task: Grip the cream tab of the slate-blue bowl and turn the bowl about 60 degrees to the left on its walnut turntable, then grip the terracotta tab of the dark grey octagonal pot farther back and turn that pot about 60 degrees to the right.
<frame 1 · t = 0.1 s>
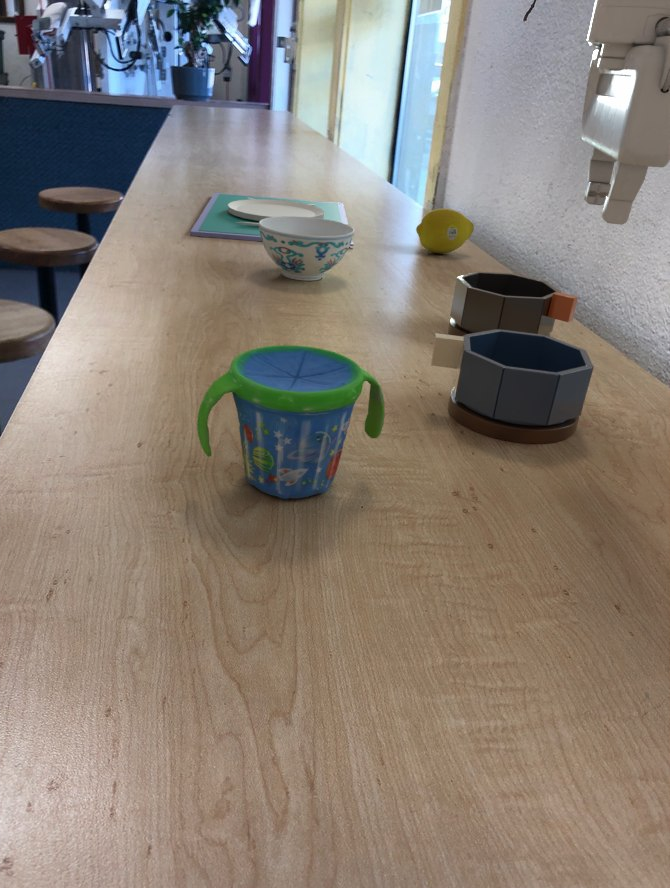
hand: (603, 212, 66), 22 cm above the bar counter, tool pointing down, fingers open, 8 cm apart
dark grey octagonal pot: (514, 306, 103), point 5 cm above the bar counter, hinge at 0.0°
lemon: (440, 254, 150), on the bar counter
slate bowl: (506, 372, 80), point 5 cm above the bar counter, hinge at 0.0°
snack cup: (288, 482, 67), on the bar counter
place mat: (275, 220, 166), on the bar counter
chinaware: (302, 276, 127), on the bar counter
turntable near: (511, 416, 82), on the bar counter
turntable far: (497, 338, 106), on the bar counter
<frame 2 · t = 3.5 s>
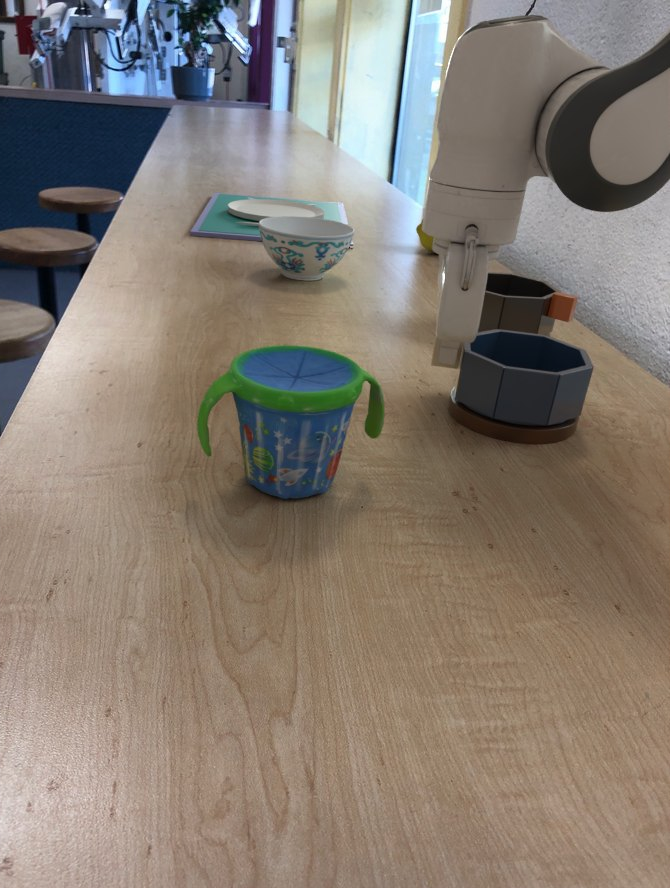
hand: (446, 357, 81), 5 cm above the bar counter, tool pointing down, fingers closed on slate bowl
slate bowl: (506, 372, 80), point 5 cm above the bar counter, hinge at 0.0°, touching gripper
everything else where it was.
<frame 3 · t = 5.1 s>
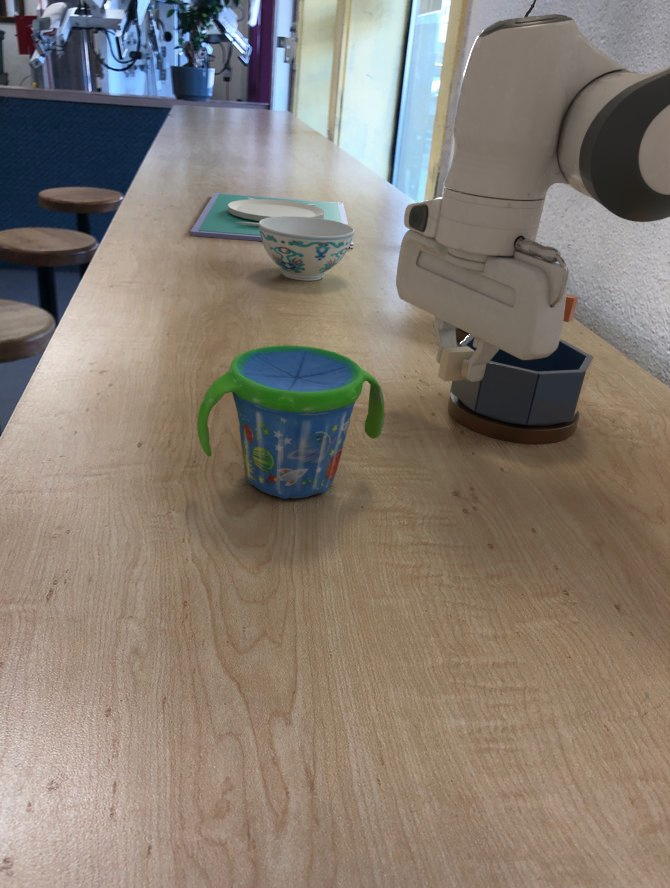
hand: (458, 371, 77), 5 cm above the bar counter, tool pointing down, fingers closed on slate bowl, 2 cm apart
slate bowl: (508, 375, 80), point 5 cm above the bar counter, hinge at 27.8°, touching gripper
everything else where it was.
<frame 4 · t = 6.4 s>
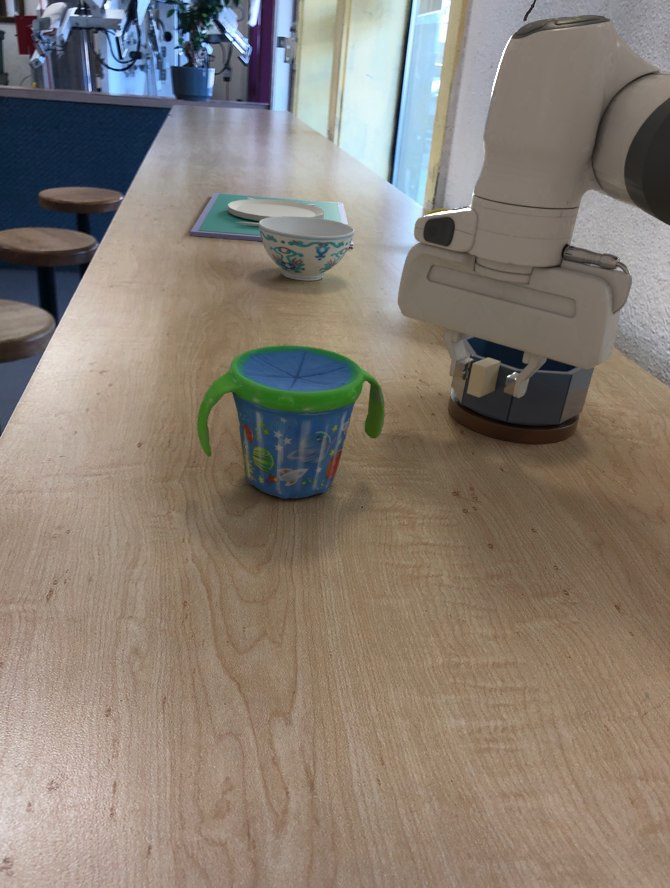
hand: (486, 385, 74), 5 cm above the bar counter, tool pointing down, fingers open, 4 cm apart
slate bowl: (513, 377, 79), point 5 cm above the bar counter, hinge at 56.5°
everything else where it was.
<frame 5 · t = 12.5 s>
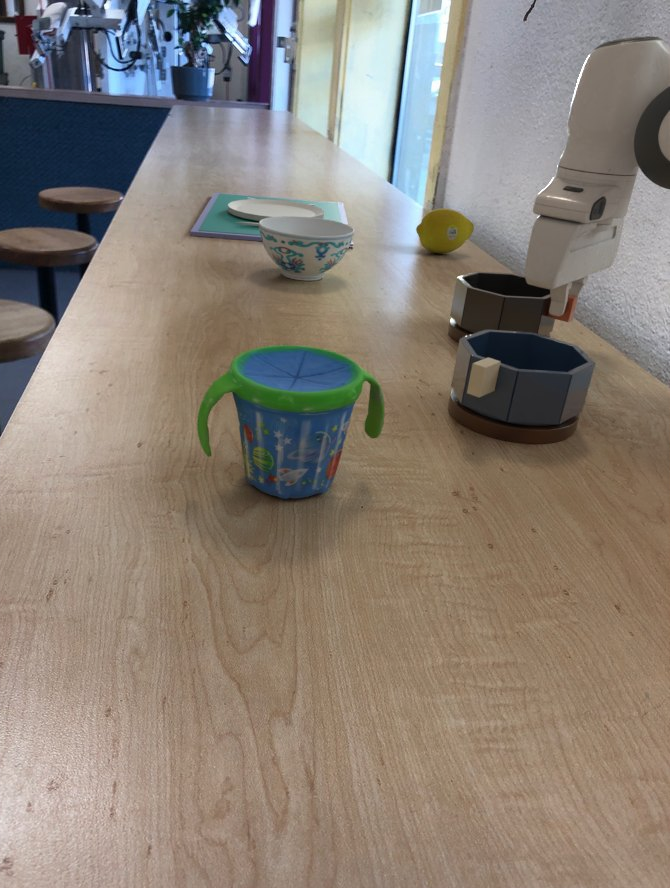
hand: (561, 312, 99), 5 cm above the bar counter, tool pointing down, fingers closed on dark grey octagonal pot
dark grey octagonal pot: (514, 306, 103), point 5 cm above the bar counter, hinge at 0.1°, touching gripper
everything else where it was.
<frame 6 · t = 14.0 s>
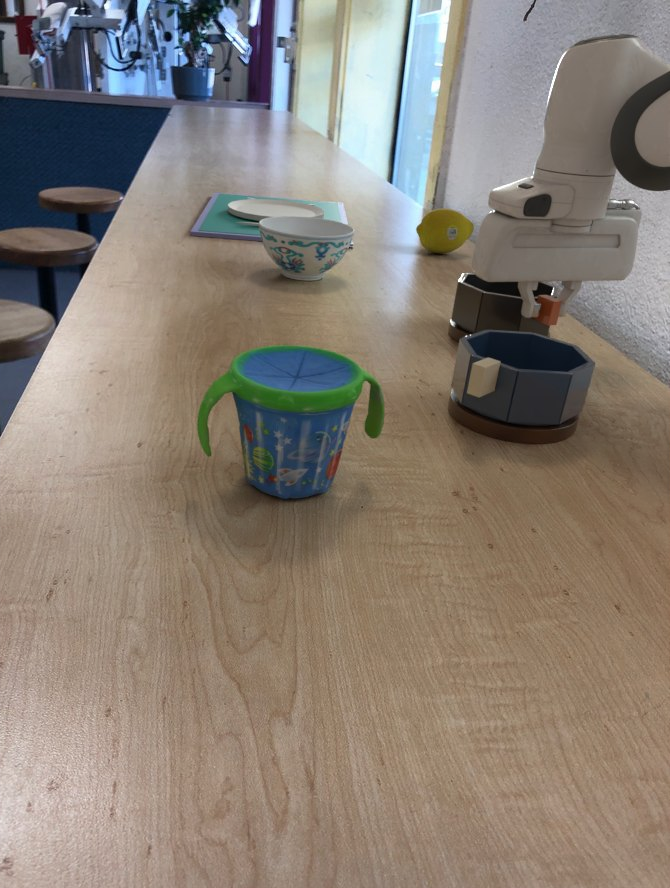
hand: (542, 316, 97), 5 cm above the bar counter, tool pointing down, fingers closed on dark grey octagonal pot, 2 cm apart
dark grey octagonal pot: (511, 307, 102), point 5 cm above the bar counter, hinge at -24.1°, touching gripper
everything else where it was.
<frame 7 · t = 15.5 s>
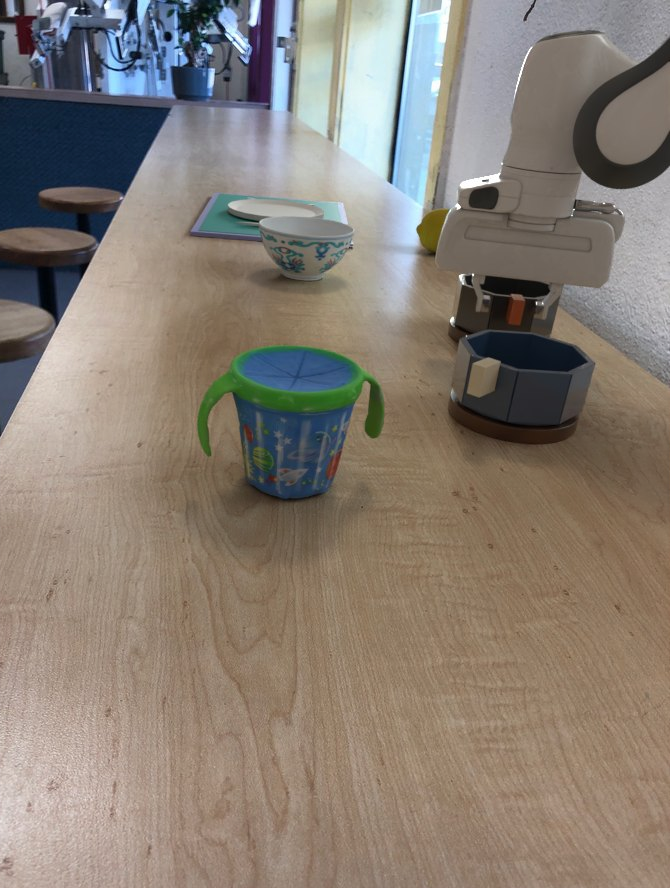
hand: (509, 314, 96), 5 cm above the bar counter, tool pointing down, fingers open, 5 cm apart
dark grey octagonal pot: (505, 307, 102), point 5 cm above the bar counter, hinge at -55.9°
everything else where it was.
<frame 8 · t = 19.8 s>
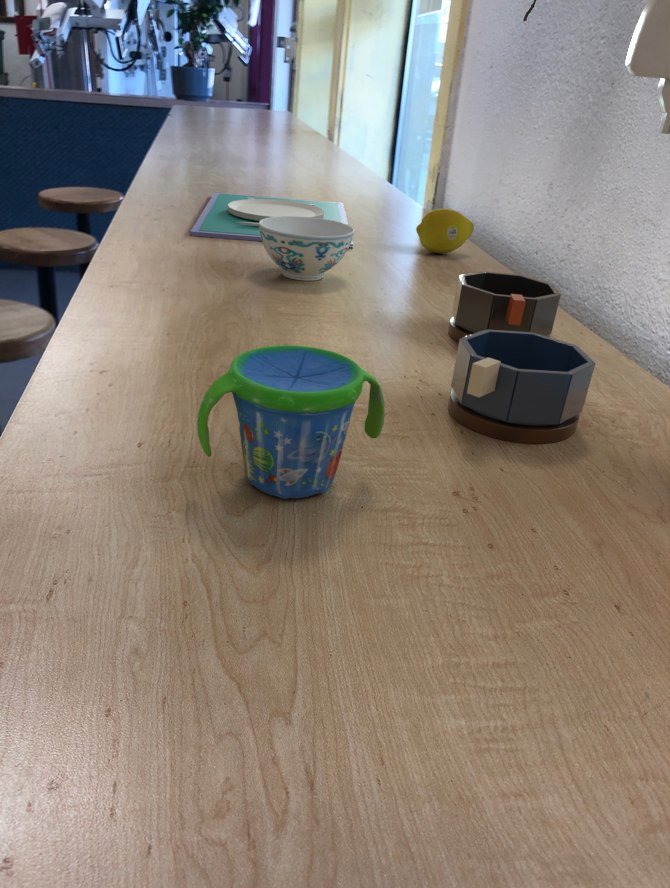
nothing on the bar counter moved.
at the end: slate bowl at +56° (first picture: +0°); dark grey octagonal pot at -56° (first picture: +0°) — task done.
